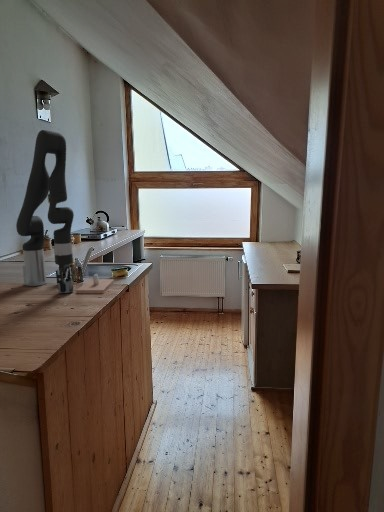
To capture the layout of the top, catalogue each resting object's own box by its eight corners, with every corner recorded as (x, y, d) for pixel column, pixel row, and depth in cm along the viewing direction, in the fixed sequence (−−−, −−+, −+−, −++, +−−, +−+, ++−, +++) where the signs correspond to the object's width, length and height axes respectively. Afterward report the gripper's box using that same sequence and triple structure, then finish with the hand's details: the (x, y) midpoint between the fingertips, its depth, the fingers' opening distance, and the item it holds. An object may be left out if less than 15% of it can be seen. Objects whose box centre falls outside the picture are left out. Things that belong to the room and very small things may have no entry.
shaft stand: (76, 293, 160) (75, 279, 159) (90, 282, 179) (89, 269, 177) (103, 293, 160) (102, 279, 158) (114, 282, 178) (113, 269, 177)
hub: (56, 293, 159) (56, 282, 158) (62, 289, 165) (61, 278, 164) (70, 293, 158) (69, 282, 158) (75, 289, 164) (74, 278, 163)
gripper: (61, 250, 165) (64, 285, 169) (48, 255, 151) (51, 294, 154) (77, 250, 165) (79, 285, 168) (65, 256, 151) (68, 294, 154)
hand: (66, 289), depth 161 cm, fingers closed on hub, 6 cm apart
